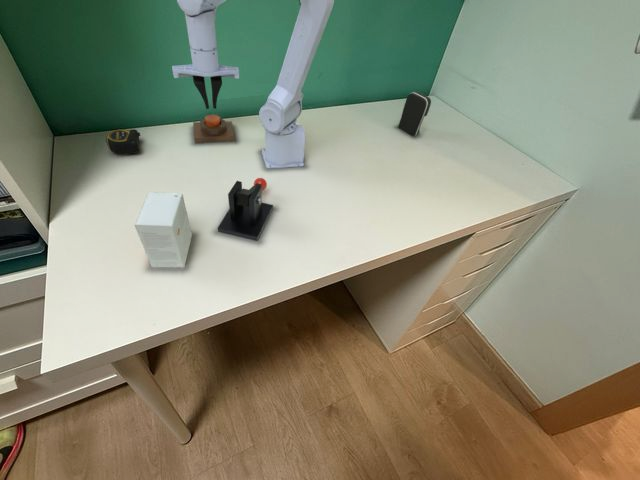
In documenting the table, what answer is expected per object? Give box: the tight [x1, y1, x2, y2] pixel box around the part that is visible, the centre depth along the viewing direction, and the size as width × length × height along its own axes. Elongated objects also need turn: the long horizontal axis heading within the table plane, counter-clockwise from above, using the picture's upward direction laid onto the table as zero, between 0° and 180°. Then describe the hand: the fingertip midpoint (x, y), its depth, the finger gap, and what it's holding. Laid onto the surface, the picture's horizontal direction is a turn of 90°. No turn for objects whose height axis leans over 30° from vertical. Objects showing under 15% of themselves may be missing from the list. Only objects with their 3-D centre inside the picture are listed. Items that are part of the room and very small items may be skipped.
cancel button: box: [204, 114, 221, 127], centre depth 84 cm, size 4×4×2 cm
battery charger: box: [397, 91, 432, 137], centre depth 98 cm, size 7×4×11 cm, turn 41°
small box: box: [134, 191, 193, 268], centre depth 55 cm, size 8×6×10 cm
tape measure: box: [105, 129, 141, 155], centre depth 77 cm, size 7×7×4 cm
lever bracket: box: [217, 180, 274, 242], centre depth 64 cm, size 10×8×8 cm
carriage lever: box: [237, 177, 268, 207], centre depth 67 cm, size 12×3×3 cm, turn 168°
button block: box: [192, 117, 236, 145], centre depth 86 cm, size 10×8×4 cm
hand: (211, 107), depth 82 cm, fingers closed
